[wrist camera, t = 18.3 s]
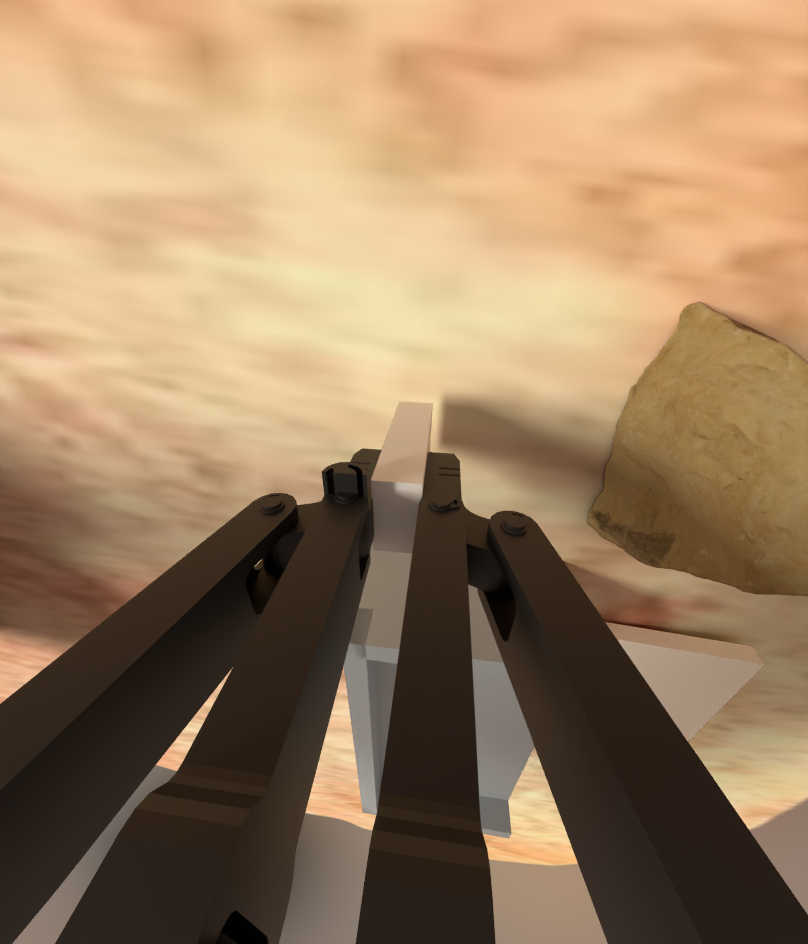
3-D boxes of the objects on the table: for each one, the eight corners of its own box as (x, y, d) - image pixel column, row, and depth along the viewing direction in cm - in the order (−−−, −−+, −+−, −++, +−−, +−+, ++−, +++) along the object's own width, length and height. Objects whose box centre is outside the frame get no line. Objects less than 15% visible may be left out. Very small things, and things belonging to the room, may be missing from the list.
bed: (378, 719, 35) (362, 812, 29) (370, 541, 23) (340, 642, 17) (499, 737, 34) (508, 838, 28) (561, 560, 21) (602, 675, 16)
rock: (649, 596, 19) (916, 508, 13) (629, 690, 12) (1140, 596, 7) (534, 437, 22) (711, 308, 16) (468, 444, 15) (726, 232, 10)
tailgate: (530, 730, 30) (669, 760, 29) (574, 631, 23) (764, 664, 21) (528, 715, 31) (662, 743, 30) (570, 615, 24) (751, 646, 22)
